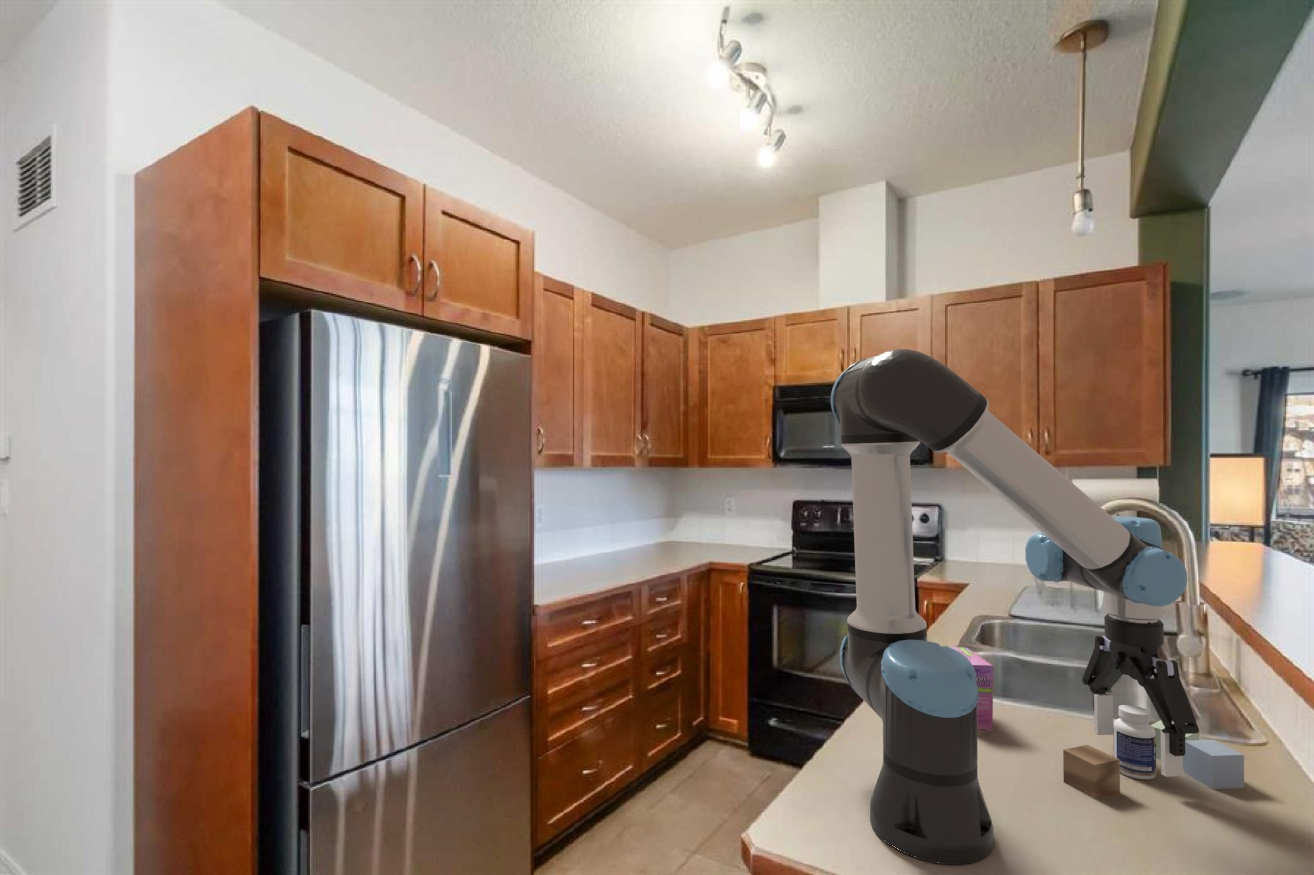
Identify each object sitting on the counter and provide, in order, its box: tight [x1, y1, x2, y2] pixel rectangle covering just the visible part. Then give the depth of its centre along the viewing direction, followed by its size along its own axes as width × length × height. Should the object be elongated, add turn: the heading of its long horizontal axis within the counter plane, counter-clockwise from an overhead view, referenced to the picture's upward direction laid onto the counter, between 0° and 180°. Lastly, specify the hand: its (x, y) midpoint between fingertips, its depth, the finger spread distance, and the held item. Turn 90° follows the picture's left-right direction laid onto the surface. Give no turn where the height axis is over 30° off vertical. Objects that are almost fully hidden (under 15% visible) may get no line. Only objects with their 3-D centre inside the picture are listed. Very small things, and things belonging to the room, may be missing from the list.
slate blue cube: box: [1183, 739, 1245, 790], centre depth 100 cm, size 5×5×5 cm
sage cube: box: [1150, 719, 1200, 761], centre depth 107 cm, size 5×5×5 cm
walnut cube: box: [1062, 744, 1121, 800], centre depth 98 cm, size 5×5×5 cm
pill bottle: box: [1113, 704, 1157, 781], centre depth 103 cm, size 5×5×10 cm
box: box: [949, 646, 994, 732], centre depth 123 cm, size 10×6×12 cm, turn 179°
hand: (1135, 753), depth 103 cm, fingers open, 13 cm apart
